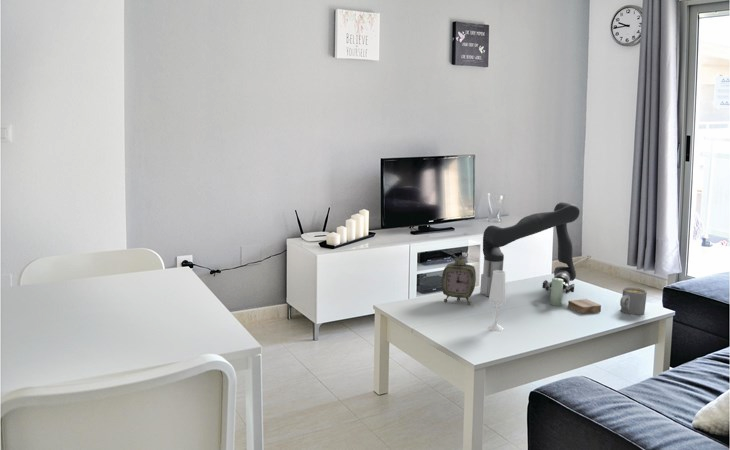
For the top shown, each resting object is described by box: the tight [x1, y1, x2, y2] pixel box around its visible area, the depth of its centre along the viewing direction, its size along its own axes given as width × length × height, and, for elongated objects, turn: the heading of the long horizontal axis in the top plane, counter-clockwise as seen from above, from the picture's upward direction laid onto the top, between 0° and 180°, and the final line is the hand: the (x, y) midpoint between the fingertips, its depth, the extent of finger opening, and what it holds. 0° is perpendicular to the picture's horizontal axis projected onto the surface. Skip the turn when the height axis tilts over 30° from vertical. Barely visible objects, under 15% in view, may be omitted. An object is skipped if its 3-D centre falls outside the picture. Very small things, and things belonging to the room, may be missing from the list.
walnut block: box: [567, 298, 602, 315], centre depth 301 cm, size 10×10×3 cm
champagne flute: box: [486, 270, 507, 332], centre depth 271 cm, size 7×7×24 cm
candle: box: [549, 277, 564, 307], centre depth 306 cm, size 5×5×13 cm
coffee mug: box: [619, 286, 648, 316], centre depth 299 cm, size 13×10×10 cm
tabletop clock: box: [441, 248, 477, 306], centre depth 305 cm, size 14×9×25 cm, turn 73°
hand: (556, 290), depth 306 cm, fingers open, 8 cm apart
